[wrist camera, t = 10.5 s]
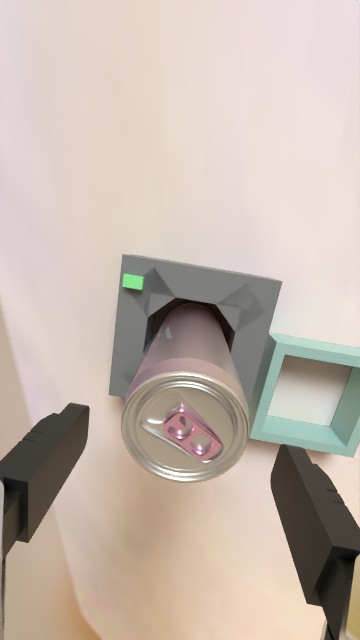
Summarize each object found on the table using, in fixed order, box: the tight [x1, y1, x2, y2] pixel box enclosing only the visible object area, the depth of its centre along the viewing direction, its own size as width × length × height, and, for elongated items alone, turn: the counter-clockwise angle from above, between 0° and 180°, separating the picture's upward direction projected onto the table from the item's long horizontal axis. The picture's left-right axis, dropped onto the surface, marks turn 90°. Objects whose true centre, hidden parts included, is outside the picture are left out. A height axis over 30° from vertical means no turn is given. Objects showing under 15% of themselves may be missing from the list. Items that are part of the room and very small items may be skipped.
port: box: [109, 254, 282, 406], centre depth 23 cm, size 13×13×4 cm
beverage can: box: [121, 303, 249, 483], centre depth 18 cm, size 6×6×15 cm
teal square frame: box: [248, 332, 360, 457], centre depth 24 cm, size 10×10×3 cm
